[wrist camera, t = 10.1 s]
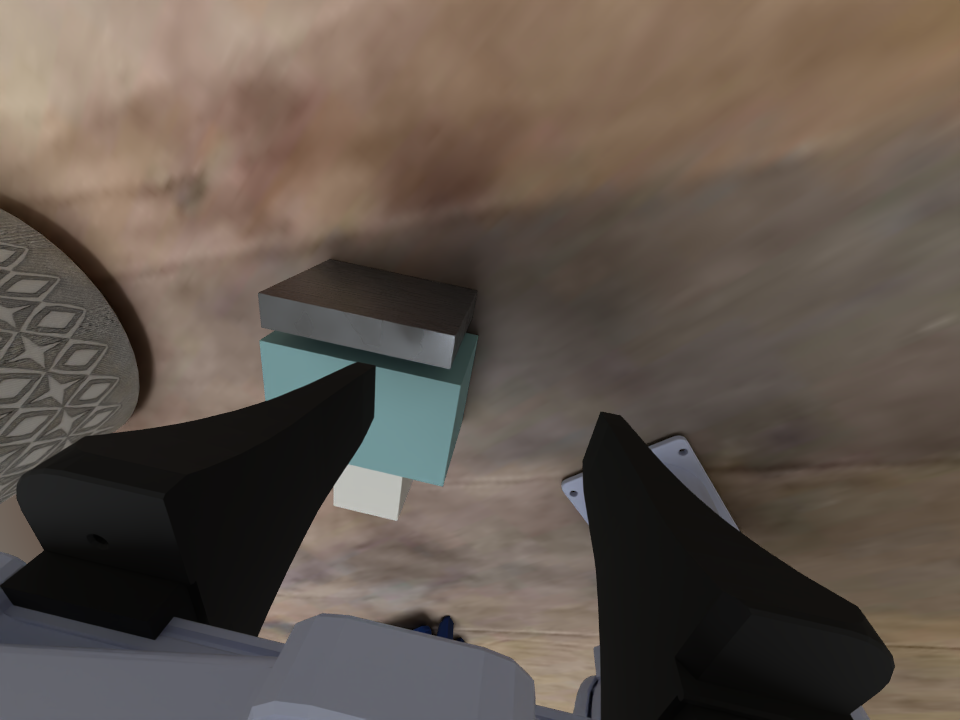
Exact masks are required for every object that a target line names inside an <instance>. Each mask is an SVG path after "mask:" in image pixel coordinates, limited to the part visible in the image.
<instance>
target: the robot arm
mask: <svg viewBox="0 0 960 720" xmlns="http://www.w3.org/2000/svg"><path fill="white" fill-rule="evenodd" d="M375 380H376V365H371V364H366V363H361V362H356V363H353V364H351V365H348V366H346V367H344V368H342V369H340V370H338V371H335V372H333V373H331V374H329V375H327V376H325V377H323V378H320V379H318V380H316V381H314V382H312V383H310V384H307V385H305V386H303V387H300V388H298V389H295V390H293V391H290V392H288V393H285V394H283V395H281V396H278V397H276V398H273V399H270V400H267V401H264V402H262V403H258V404H255V405H252V406H249V407H246V408H243V409H239V410H236V411H232V412H228V413H224V414H220V415H216V416H212V417H208V418H204V419H199V420H195V421H190V422H185V423H180V424H174V425H168V426H162V427H156V428H150V429H143V430H135V431H127V432H118V433H110V434H101V435H91V436H85V437H83V438H81V439H79V440H78V441H76V442H75V443H73V444H71V445H70V446H68V447H67V448H65V449H63V450H62V451H60V452H58V453H57V454H55V455H54V456H52V457H50V458H49V459H47V460H46V461H44V462H42V463H41V464H39V465H37V466H36V467H34V468H33V469H31V470H29V471H28V472H26V473H24V474H23V475H21V477H20V479H19V481H18V483H17V487H16V496H17V501H18V503H19V505H20V508H21V511H22V512H23V514H24V516H25V517H26V519H27V521H28V523H29V525H30V526H31V528H32V530H33V532H34V533H35V535H36V537H37V539H38V540H39V542H40V544H41V546H42V547H43V549H44V551H43V552H42V553H41V554H39V555H38V556H37V557H35V558H34V559H33V560H32V561H30V562H29V563H28V564H26V563H25V562H24V561H22V560H21V559H19V558H18V557H15V556H13V555H10V554H7V553H2V552H0V720H870V718H869V717H868V715H867V713H866V712H865V710H864V709H863V707H862V705H863V704H864V703H865V702H867V701H868V700H869V699H871V698H872V697H873V696H875V695H876V694H877V693H878V692H880V691H881V690H882V689H883V688H884V687H885V686H886V685H887V684H888V683H889V681H890V679H891V676H892V673H893V670H894V668H895V665H894V660H893V656H892V654H891V653H890V651H889V650H888V648H887V647H886V646H885V644H884V643H883V641H882V640H881V638H880V637H879V636H878V634H877V633H876V631H875V630H874V629H873V627H872V626H871V624H870V623H869V621H868V620H867V619H866V617H865V616H864V614H863V613H862V612H861V610H860V609H859V608H858V607H857V606H856V605H854V604H852V603H851V602H849V601H847V600H845V599H844V598H842V597H840V596H839V595H837V594H835V593H833V592H832V591H830V590H828V589H827V588H825V587H823V586H821V585H820V584H818V583H816V582H815V581H813V580H811V579H809V578H808V577H806V576H804V575H803V574H801V573H800V572H798V571H796V570H795V569H793V568H792V567H790V566H789V565H787V564H786V563H784V562H783V561H781V560H780V559H778V558H777V557H775V556H774V555H772V554H770V553H769V552H768V551H766V550H765V549H763V548H762V547H760V546H759V545H758V544H756V543H755V542H753V541H752V540H750V539H749V538H748V537H746V536H745V535H744V534H742V533H741V532H740V530H739V529H738V527H737V525H736V523H735V522H734V520H733V518H732V517H731V515H730V513H729V511H728V510H727V508H726V506H725V505H724V503H723V501H722V499H721V498H720V496H719V494H718V493H717V491H716V489H715V487H714V486H713V484H712V482H711V480H710V479H709V477H708V475H707V474H706V472H705V470H704V468H703V467H702V465H701V463H700V462H699V460H698V458H697V456H696V455H695V453H694V451H693V450H692V448H691V446H690V444H689V443H688V441H687V439H686V438H685V437H683V436H679V435H677V436H673V437H671V438H668V439H666V440H663V441H661V442H658V443H656V444H653V445H651V446H647V445H646V444H645V443H644V441H643V440H642V439H641V438H640V437H639V436H638V434H637V433H636V432H635V431H634V430H633V429H632V427H631V426H630V425H629V424H628V423H627V422H626V421H625V420H624V419H623V418H622V417H621V416H620V415H616V414H611V413H606V412H600V415H599V418H598V420H597V423H596V426H595V428H594V431H593V434H592V437H591V439H590V442H589V445H588V448H587V450H586V453H585V456H584V459H583V472H582V473H580V474H577V475H575V476H572V477H570V478H567V479H565V480H563V481H562V484H561V486H562V490H563V492H564V493H565V494H566V496H567V497H568V498H569V500H570V501H571V502H572V504H573V505H574V506H575V508H576V509H577V510H578V512H579V513H580V514H581V516H582V517H583V518H584V519H585V521H586V522H587V523H588V525H589V529H590V535H591V541H592V547H593V553H594V559H595V567H596V578H597V594H598V612H599V636H600V645H599V646H596V647H594V658H595V667H596V675H595V676H590V677H588V678H586V679H585V680H584V681H583V682H582V684H581V685H580V688H579V690H578V693H577V697H576V701H575V707H574V711H573V714H572V713H568V712H564V711H559V710H555V709H551V708H547V707H543V706H539V705H535V687H534V680H533V679H532V678H531V677H530V675H529V674H528V673H527V672H526V671H525V670H524V669H523V668H522V667H520V666H519V665H518V664H517V663H516V662H515V661H514V660H513V659H512V658H510V657H507V656H505V655H502V654H500V653H497V652H495V651H492V650H490V649H487V648H485V647H481V646H477V645H472V644H468V643H464V642H460V641H455V640H451V639H447V638H443V637H439V636H434V635H430V634H426V633H422V632H418V631H413V630H409V629H405V628H401V627H396V626H392V625H388V624H384V623H380V622H375V621H371V620H367V619H363V618H359V617H354V616H350V615H338V614H326V613H322V614H319V615H317V616H314V617H311V618H309V619H306V620H303V621H301V622H298V623H296V624H295V626H294V628H293V630H292V632H291V634H290V636H289V637H288V639H287V641H286V643H285V644H284V643H280V642H276V641H271V640H267V639H263V638H259V637H258V634H259V632H260V630H261V627H262V625H263V623H264V621H265V618H266V616H267V614H268V611H269V609H270V607H271V605H272V603H273V601H274V599H275V596H276V594H277V592H278V590H279V588H280V586H281V584H282V581H283V579H284V577H285V575H286V573H287V571H288V569H289V567H290V565H291V563H292V561H293V559H294V557H295V555H296V553H297V551H298V549H299V547H300V545H301V543H302V540H303V539H304V537H305V535H306V533H307V531H308V529H309V527H310V525H311V523H312V521H313V519H314V518H315V516H316V514H317V512H318V510H319V508H320V507H321V505H322V503H323V502H324V500H325V498H326V497H327V495H328V494H329V492H330V491H331V489H332V488H333V486H334V485H335V483H336V482H337V480H338V479H339V477H340V476H341V474H342V473H343V471H344V470H345V468H346V467H347V465H348V464H349V462H350V461H351V459H352V458H353V456H354V455H355V453H356V452H357V450H358V449H359V447H360V445H361V444H362V442H363V440H364V438H365V436H366V434H367V432H368V430H369V428H370V426H371V423H372V421H373V419H374V411H375ZM681 449H685V450H684V451H681V452H680V451H679V450H681ZM571 491H576V492H571Z"/></svg>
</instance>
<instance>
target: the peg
mask: <svg viewBox="0 0 960 720" xmlns="http://www.w3.org/2000/svg"><path fill="white" fill-rule="evenodd" d="M412 482H413V479H409V478H404V477H400V476H396V475H392V474H387V473H383V472H379V471H375V470H370V469H366V468H362V467H358V466H353V465H349V464H348V465H347V467H346V468H345V470H344V471H343V473H342V474H341V476H340V477H339V479H338V480H337V482H336V483H335V485H334V506H337V507H341V508H346V509H350V510H354V511H358V512H362V513H366V514H371V515H375V516H379V517H383V518H387V519H391V520H396V521H397V520H398V518H399V515H400V513H401V510H402V508H403V505H404V502H405V500H406V497H407V495H408V492H409V490H410V487H411V485H412Z"/></svg>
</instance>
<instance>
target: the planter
mask: <svg viewBox="0 0 960 720" xmlns="http://www.w3.org/2000/svg"><path fill="white" fill-rule="evenodd" d="M139 388H140V387H139V372H138V367H137V363H136V359H135V355H134V352H133V349H132V347H131V344H130V342H129V339H128V337H127V334H126V332H125V330H124V329H123V327H122V325H121V323H120V321H119V319H118V317H117V316H116V314H115V312H114V310H113V309H112V308H111V306H110V305H109V303H108V302H107V300H106V299H105V297H104V296H103V294H102V293H101V292H100V291H99V290H98V289H97V287H96V286H95V285H94V284H93V283H92V281H91V280H90V279H89V278H88V277H87V276H86V274H85V273H84V272H83V271H82V270H81V269H80V268H79V267H78V266H77V265H76V264H75V263H74V262H73V261H72V260H71V259H70V258H69V257H68V256H67V255H66V254H65V253H64V252H63V251H61V250H60V249H59V248H58V247H57V246H55V245H54V244H53V243H52V242H50V241H49V240H48V239H47V238H46V237H44V236H43V235H42V234H41V233H39V232H38V231H36V230H35V229H33V228H32V227H30V226H29V225H27V224H26V223H24V222H23V221H21V220H20V219H19V218H17V217H15V216H13V215H11V214H10V213H8V212H6V211H4V210H2V209H0V504H1V503H2V502H4V501H6V500H7V499H9V498H10V497H12V496H13V495H15V494H16V487H17V483H18V481H19V479H20V477H21V475H23V474H24V473H26V472H28V471H29V470H31V469H33V468H34V467H36V466H37V465H39V464H41V463H42V462H44V461H46V460H47V459H49V458H50V457H52V456H54V455H55V454H57V453H58V452H60V451H62V450H63V449H65V448H67V447H68V446H70V445H71V444H73V443H75V442H76V441H78V440H79V439H81V438H83V437H85V436H91V435H101V434H110V433H113V432H114V431H116V430H117V429H118V428H120V427H121V426H122V425H124V424H125V423H126V422H127V420H128V419H129V418H130V417H131V415H132V414H133V412H134V409H135V407H136V404H137V402H138V395H139Z"/></svg>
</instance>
